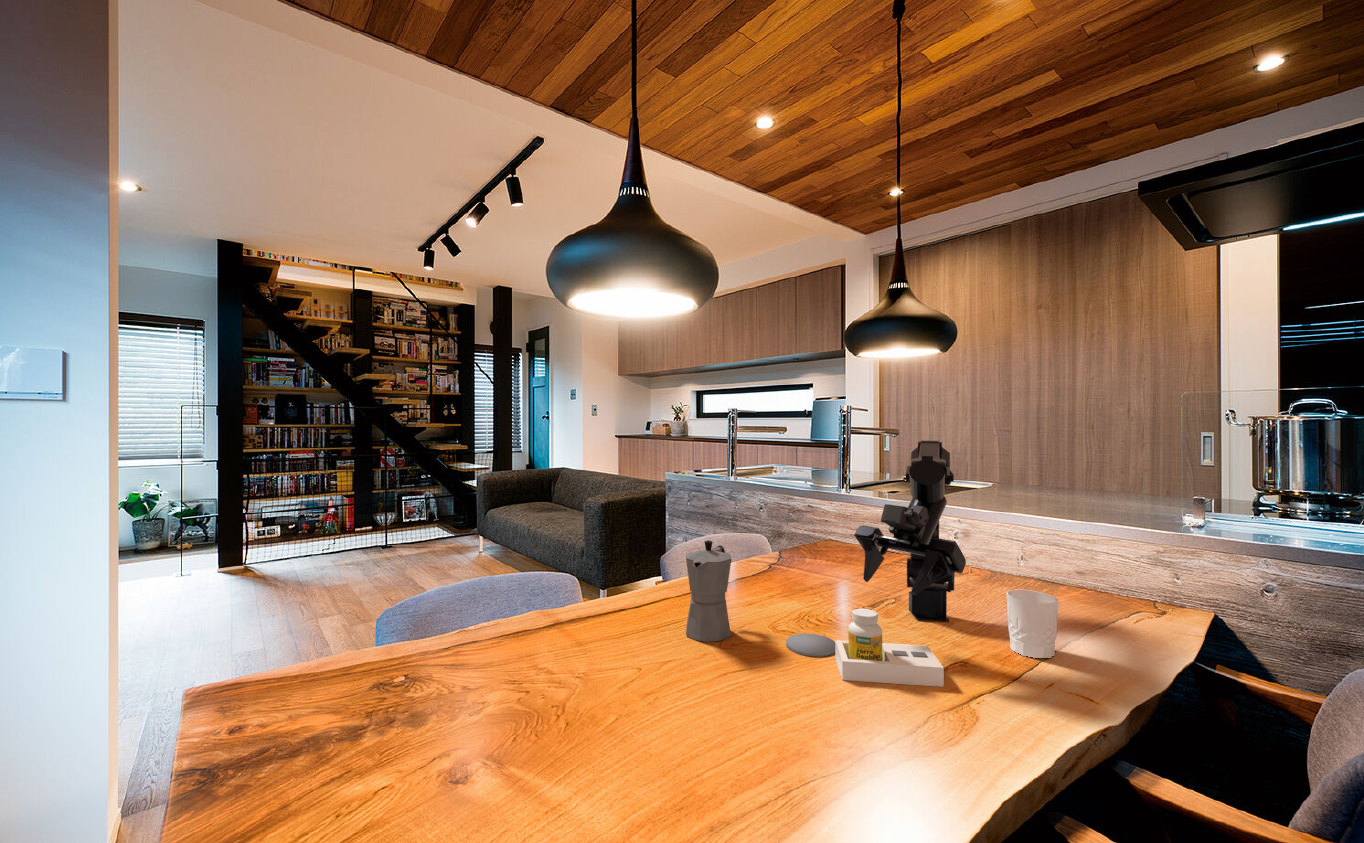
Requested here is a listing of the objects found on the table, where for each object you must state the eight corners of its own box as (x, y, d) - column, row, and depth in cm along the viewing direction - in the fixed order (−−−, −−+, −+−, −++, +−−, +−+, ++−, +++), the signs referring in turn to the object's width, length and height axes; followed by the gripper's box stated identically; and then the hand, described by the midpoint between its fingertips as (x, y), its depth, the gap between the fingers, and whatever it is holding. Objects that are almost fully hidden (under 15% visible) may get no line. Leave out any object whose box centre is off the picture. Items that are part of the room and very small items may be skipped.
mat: (833, 638, 105) (833, 635, 105) (840, 658, 96) (840, 654, 96) (785, 635, 106) (785, 632, 106) (787, 655, 97) (787, 651, 97)
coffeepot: (719, 650, 99) (720, 550, 99) (672, 641, 103) (672, 545, 103) (744, 621, 114) (744, 534, 114) (701, 615, 117) (702, 530, 117)
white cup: (1017, 639, 105) (1018, 586, 105) (1065, 653, 98) (1065, 597, 98) (998, 649, 100) (998, 594, 100) (1047, 665, 94) (1047, 606, 94)
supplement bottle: (876, 663, 94) (876, 607, 94) (886, 678, 89) (887, 618, 89) (844, 662, 94) (844, 606, 94) (853, 677, 89) (853, 617, 89)
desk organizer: (927, 663, 94) (927, 644, 94) (943, 686, 86) (943, 666, 86) (835, 657, 96) (835, 639, 96) (842, 680, 88) (842, 660, 88)
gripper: (860, 483, 106) (823, 548, 99) (958, 493, 92) (923, 570, 85) (883, 519, 111) (849, 584, 104) (979, 535, 96) (948, 611, 90)
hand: (888, 586), depth 96 cm, fingers open, 9 cm apart
